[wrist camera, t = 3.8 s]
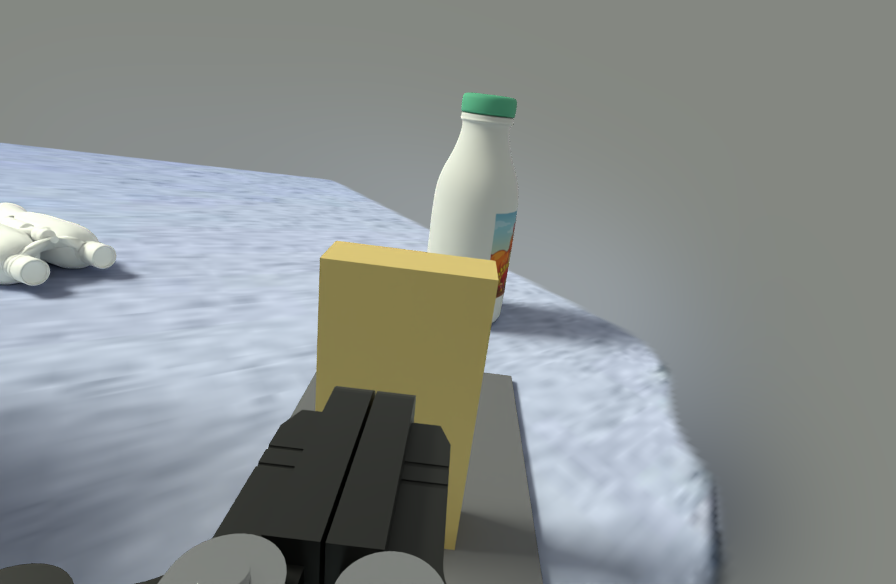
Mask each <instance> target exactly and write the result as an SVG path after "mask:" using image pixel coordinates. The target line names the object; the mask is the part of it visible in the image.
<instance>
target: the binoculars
mask: <svg viewBox="0 0 896 584" xmlns="http://www.w3.org/2000/svg"><path fill="white" fill-rule="evenodd" d="M42 260H43V261H42ZM115 260H116V252H115V250H114V249H113V248H112V247H111V246H108V245H105V244H102V243H100V242H99V241H98V239H97V238H96V236H95V235H94V234H93V233H92V232H90V231H89V230H88V229H87V228H85V227H82V226H80V225H79V224H75V223H72V222H69V221H66V220H62V219H59V218H56V217H53V216H49V215H45V214H39V213H33V212H27V211H26V210H25V209H24V208H22V207H21V206H19V205H16V204H12V203H0V284H15V283H19V282H22V283H25V284H27V285H31V286H36V285H40V284H42V283H43V282H45V281H46V280H47V279H48V277H49V275H50V268H49V266H48V264H47V263H46V262H48V263H51V264H54V265H57V266H59V267H62V268H70V269H79V268H84V267H87V266H89V265H90V266H94V267H97V268H100V269H106V268H109V267H110V266H112V265H113V264H114V262H115ZM44 261H46V262H44Z"/></svg>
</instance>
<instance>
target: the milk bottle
mask: <svg viewBox="0 0 896 584" xmlns="http://www.w3.org/2000/svg"><path fill="white" fill-rule="evenodd" d="M516 107H517V101H516V99H514V98H509V97H503V96H495V95H488V94H479V93H465V94H464V96H463V100H462V111H464V112H462V115H461V117H460V118H461V119H462V121H463V124H462V130H461V133H460V136H459V139H458V141H457V143H456V146H455V148H454V150H453V152H452V153H451V155H450V157H449V159H448V160H447V162H446V164H445V166H444V167H443V169H442V172H441V174H440V176H439V179H438V182H437V186H436V190H435V195H434V202H433V209H432V216H431V225H430V233H429V242H428V251H427V252H429V253H437V254H445V255H453V256H461V257H469V258H477V259H485V260H493V261H496V267H497V273H498V279H499V281H498V288H497V294H496V300H495V306H494V312H493V318H492V323H493V322H495V321H496V320H497V318H498V317H499V315H500V312H501V307H502V301H503V296H504V290H505V284H506V278H507V272H508V266H509V260H510V254H511V247H512V241H513V235H514V229H515V223H516V215H517V207H518V183H517V177H516V172H515V169H514V165H513V161H512V156H511V151H510V141H509V133H510V128H511V126H512V125H514V124H513V120H514V119H513V118H514V117H515V113H516ZM469 112H470V113H469ZM508 117H509V118H508Z"/></svg>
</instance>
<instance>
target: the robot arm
mask: <svg viewBox="0 0 896 584" xmlns="http://www.w3.org/2000/svg"><path fill="white" fill-rule="evenodd" d="M415 404H416V395H409V394H400V393H392V392H383V391H377V393H375V390H367V389H359V388H350V387H341V386H335V388H334V389H333V391H332V393H331V395H330V397H329V399H328V401H327V403H326V405H325V407H324V409H323V411H322V412H319V411H311V410H301V411H300V412H298V413H297V414H295V415H294V416H293V417H291V418H290V419H288V420H287V421H286V422H284V423H283V424H282V425H281V426H280V427H279V429H278V431H277V432H276V434H275V436H274V437H273V439H272V441H271V442H270V444H269V448H268V449H266V450H265V452H264V454H263V455H262V457H261V459H260V460H259V463H258V467H257V466H256V467H255V469H254V470H253V472H252V474H251V475H250V477H249V479H248V480H247V482H246V484H245V485H244V487H243V488H242V490H241V492H240V493H239V495H238V497H237V498H236V500H235V502H234V503H233V505H232V507H231V508H230V510H229V512H228V513H227V515H226V517H225V518H224V520H223V522H222V523H221V525H220V527H219V528H218V530H217V531H216V533H215V535H214V536H213V538H212V539H210V540H207V541H205V542H202V543H201V544H199V545H197V546H195V547H193V548H192V549H190V550H189V551H187V552H186V553H184V554H183V555H182V556H181V557H180V558H179V559H178V560H176V561H175V562H174V564H173V565H172V566H171V567H170V568H169V569H168V571H167V572H166V573H165V575H163V576H160V577H158V578H155V579H151V580H148V581H145V582H140V583H136V584H446V581H445V577H444V572H443V558H444V543H445V527H446V512H447V496H448V481H449V465H450V450H451V444H450V443H449V441H448V439H447V437H446V435H445V433H444V431H443V430H442V428H441V426H437V425H429V424H420V423H414V415H415ZM0 584H74V583H73V580H72V578H71V577H70V576H69V574H68V573H67V572H65V571H64V570H63V569H61V568H59V567H56V566H53V565H48V564H36V563H31V564H22V565H16V566H12V567H7V568H4V569H1V570H0Z"/></svg>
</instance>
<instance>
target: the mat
mask: <svg viewBox="0 0 896 584" xmlns="http://www.w3.org/2000/svg"><path fill="white" fill-rule="evenodd" d="M315 403H316V373H315V375H314V377H313V378H312V380H311V382H310V384H309V386H308V387H307V389H306V391H305V393H304V394H303V396H302V398H301V400H300V401H299V403H298V405H297V407H296V409H295V410H294V412H293V414H292V416H291V417H293V416H294V415H295V414H297V413H298V412H300V411H301V410H311V411H315ZM291 417H290V418H291ZM443 572H444V577H445V581H446V584H543V581H542V575H541V568H540V561H539V555H538V548H537V542H536V535H535V529H534V522H533V516H532V509H531V502H530V496H529V489H528V483H527V476H526V470H525V463H524V456H523V450H522V443H521V437H520V430H519V424H518V417H517V411H516V404H515V397H514V391H513V384H512V378H511V376H507V375H499V374H491V373H483V379H482V385H481V391H480V398H479V404H478V410H477V416H476V422H475V428H474V434H473V440H472V446H471V453H470V459H469V465H468V471H467V477H466V483H465V489H464V495H463V502H462V508H461V514H460V520H459V526H458V532H457V538H456V544H455V550H450V549H444V558H443Z"/></svg>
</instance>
